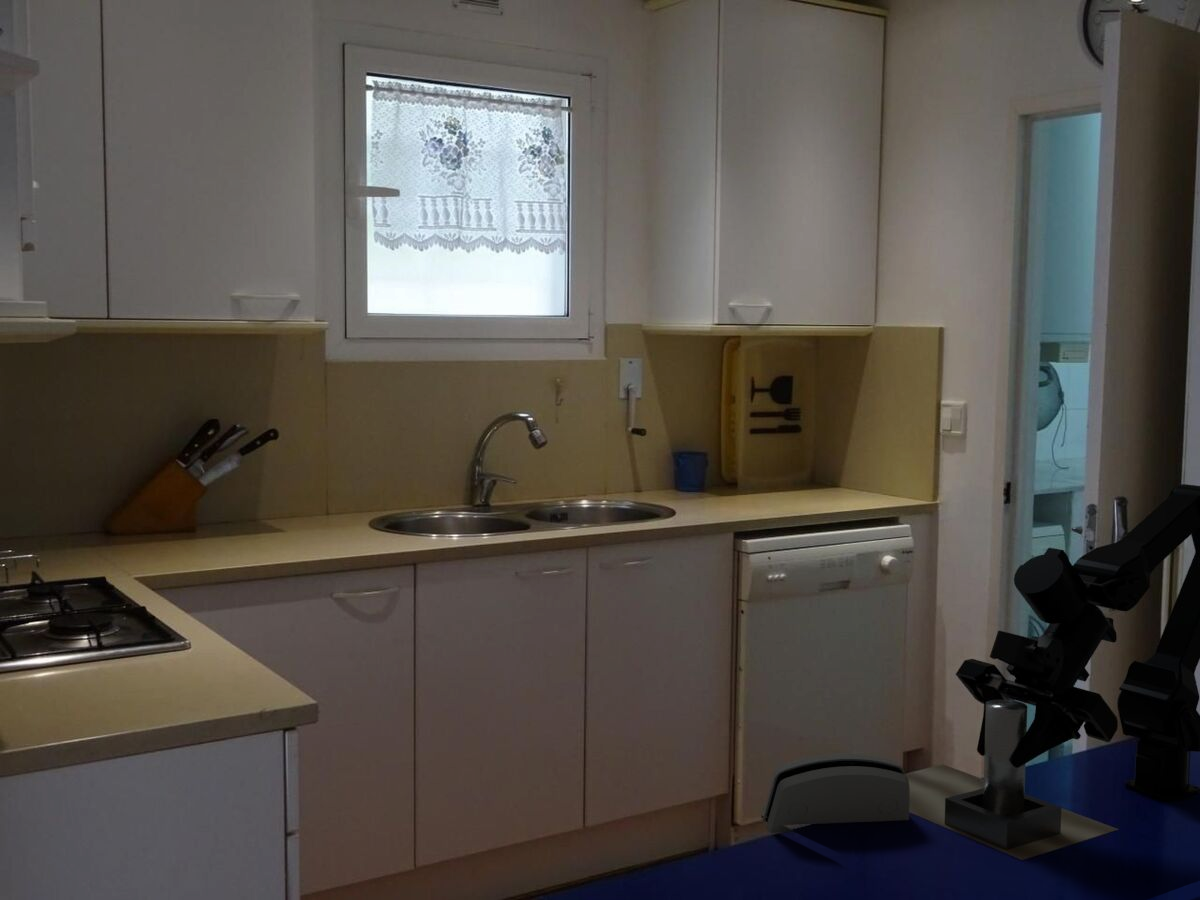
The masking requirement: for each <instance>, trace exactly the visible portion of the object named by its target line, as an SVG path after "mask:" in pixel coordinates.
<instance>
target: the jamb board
mask: <svg viewBox="0 0 1200 900" xmlns="http://www.w3.org/2000/svg"><path fill="white" fill-rule="evenodd" d="M905 775H906V776H907V778H908V781H909V787H910V795H909V814H912V815H914V816H917V817H920V818H922V819H924V820H926V821H929V822H931V823H934V824H936V825H938V826H941V827H943V828H945V829H947V830H950V831H951V832H954V833H957V834H959V835H962V836H964V837H967V838H969V839H972V840H974V841H976V842H978V843H981V844H983V845H985V846H988V847H990V848H993V849H994V850H998V851H1000V852H1002V853H1004V854H1007V855H1010V856H1011V857H1014V858H1016V859H1019V860H1021V861H1024V860H1027V859H1030V858H1033V857H1036V856H1039V855H1043V854H1046V853H1049V852H1052V851H1056V850H1058V849H1061V848H1065V847H1068V846H1071V845H1075V844H1078V843H1081V842H1085V841H1087V840H1091V839H1093V838H1097V837H1100V836H1103V835H1107V834H1110V833H1113V832H1116V831H1119V830H1120V829H1119V828H1116V827H1113V826H1111V825H1108V824H1107V823H1106V824H1105V823H1103V822H1100V821H1097V820H1094V819H1091V818H1089V817H1088V816H1087V817H1086V816H1084V815H1081V814H1078V813H1075V812H1073V811H1070V810H1068V809H1065V808H1062V809H1061V834H1058V835H1055V836H1051V837H1048V838H1045V839H1042V840H1038V841H1035V842H1032V843H1028V844H1025V845H1022V846H1019V847H1015V848H1012V849H1009V850H1005V849H1002V848H1000V847H998V846H995V845H993V844H990V843H988V842H986V841H983V840H981V839H979V838H976V837H974V836H971V835H969V834H967V833H964V832H962V831H959V830H957V829H955V828H952V827H950V826H947V825H945V798H949V797H952V796H956V795H960V794H964V793H967V792H971V791H975V790H979V789H982V788H983V785H984V778H981V777H979V776H976V775H972V774H970V773H967V772H965V771H963V770H959V769H957V768H955V767H952V766H949V765H946V764H944V763H943V764H940V765H935V766H930V767H926V768H923V769H920V770H915V771H911V772H905ZM978 780H979V781H978Z"/></svg>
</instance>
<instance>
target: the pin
mask: <svg viewBox="0 0 1200 900" xmlns="http://www.w3.org/2000/svg"><path fill="white" fill-rule="evenodd" d="M1027 726H1028V705H1027V703H1024V702H1021V701H1017V700H1014V701H1013V700H1002V699H999V700H990V701H988V702H986V716H985V750H984V756H983V757H984V758H983V759H984V760H983V779H984V785H983V808H984V809H986V810H989V811H991V812H994V813H996V814H999V815H1001V816H1004V817H1009V816H1013V815H1016V814H1020V813H1023V812H1024V796H1025V794H1026V791H1025V788H1026V786H1025V785H1026V764H1027V763H1025V764H1024V765H1022V766H1020V767H1019V768H1016V767H1014V766H1013V765H1012V764H1011V760H1012V758H1013V755H1014V753H1015V751H1016V749H1017V747H1018V746H1019V744H1020V742H1021V741H1022V739H1023V737H1024V736H1025V734H1026V732H1027V731H1028V729H1027Z"/></svg>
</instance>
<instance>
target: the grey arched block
mask: <svg viewBox="0 0 1200 900" xmlns="http://www.w3.org/2000/svg"><path fill="white" fill-rule="evenodd" d="M905 774H906V772H905V770H904V768H903V767H902V765H900V763H898V762H897V761H895V760H892V759H888V758H884V757H880V756H875V755H870V754H861V753H860V754H857V753H854V754H853V753H834V754H823V755H817V756H810V757H807V758H801V759H797V760H795V761H791V762H787V763H785V764H782V765H779V766H777V768H775V770H774V773H773V776H772V780H771V783H770V786H769V789H768V790H769V791H768V793H767V797H766V800H765V803H764V805H763V806H762V808H761V812H762V814H761V815H760V818H761V819H762V822H767V823H766V826H765V830H766V831H768V833H771V834H776V833H777V834H778V833H779V834H780V833H796V831H795V830H793V829H791V828H790V827H788V826H791V825H792V826H793V825H794V826H795V825H817V824H843V823H846V824H848V823H864V822H865V823H867V822H869V823H870V822H871V823H872V822H889V821H890V822H892V821H893V822H895V821H896V822H897V821H910V813H909V795H910V787H909V781H908V778H907V776H906V775H905ZM788 831H789V832H788Z"/></svg>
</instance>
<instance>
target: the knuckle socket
mask: <svg viewBox="0 0 1200 900" xmlns="http://www.w3.org/2000/svg"><path fill="white" fill-rule="evenodd" d="M1061 809H1063V808H1062V807H1061V806H1060V805H1056V804H1054V803H1050V802H1048V801H1046V800H1044V799H1043V800H1042V799H1041V798H1037V797H1034V796H1032V795H1028V794H1026V793H1025V796H1024V812H1023V813H1020V814H1016V815H1013V816H1009V817H1004V816H1001V815H999V814H996V813H994V812H991V811H989V810H986V809H984V808H983V788H982V789H979V790H975V791H971V792H967V793H964V794H960V795H956V796H952V797H949V798H945V825H947V826H950V827H952V828H955V829H957V830H959V831H962V832H964V833H967V834H969V835H971V836H974V837H976V838H979V839H981V840H983V841H986V842H988V843H990V844H993V845H995V846H998V847H1000V848H1002V849H1005V850H1009V849H1012V848H1015V847H1019V846H1022V845H1025V844H1028V843H1032V842H1035V841H1038V840H1042V839H1045V838H1048V837H1051V836H1055V835H1058V834H1061Z"/></svg>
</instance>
